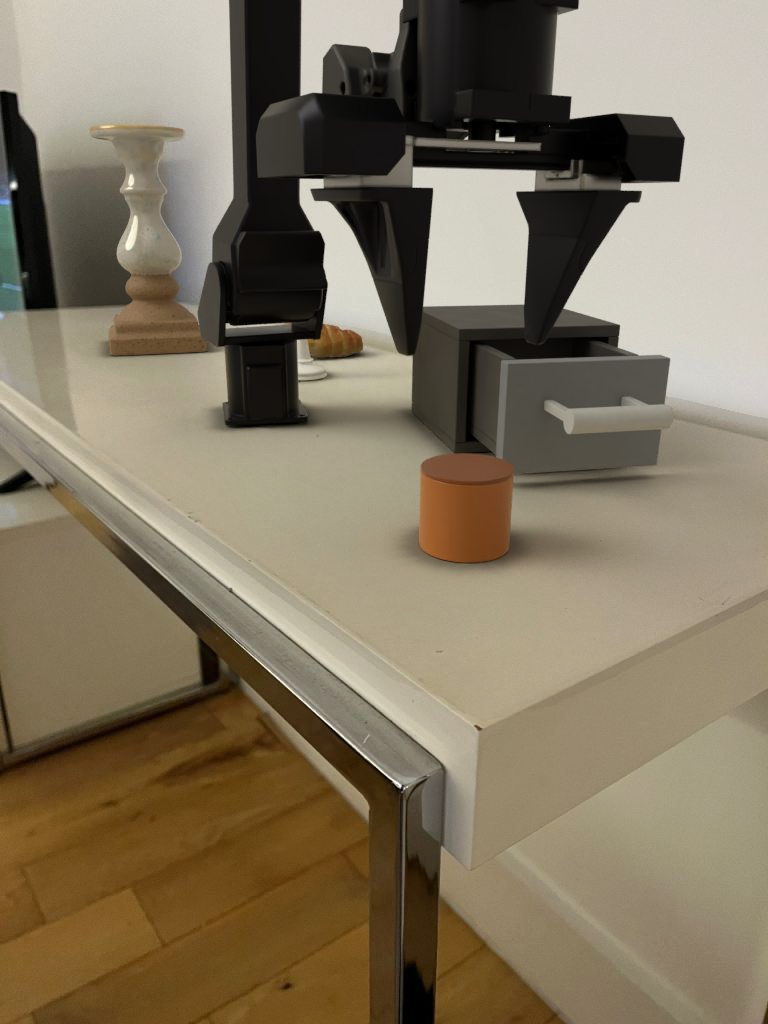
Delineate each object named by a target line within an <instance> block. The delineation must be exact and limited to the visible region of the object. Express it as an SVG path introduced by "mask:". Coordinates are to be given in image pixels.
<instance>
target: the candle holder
mask: <svg viewBox="0 0 768 1024" xmlns="http://www.w3.org/2000/svg"><path fill="white" fill-rule="evenodd" d="M89 134H90V136H91V138H92V139H93V138H94V139H97V140H103V141H110V142H111V143H112V145H113V147H114V151H115V153H116V154H117V156H118V157H119V158H120V160H121V161H122V164H123V165H124V169H125V176H124V180H123V183H122V184H121V186H120V188H119V193H120V194H121V195H123V197H124V201H125V202H126V203H127V206H128V208H129V210H130V211H129V212H130V213H129V214H130V215H129V219H128V221H127V222H128V223H127V225H126V227H125V229H124V231H123V233H122V235H121V237H120V239H119V241H118V244H117V247H116V259H117V261H118V264H119V265H120V266H121V267H122V268H123V270H125V271H126V272H128V273H130V277H129V279H127V281H126V283H125V293H126V294H127V295H128V296H129V297H130V298H131V299H132V301H131V302H130V303H128V304H127V305H126V306H125V307H124V308H123V309H121V311H120V312H119V313H118V314H115V315H114V316H113V324H112V325H110V326H109V328H108V344H109V345H108V346H109V354H110V356H136V355H137V356H140V355H141V356H143V355H162V354H163V355H164V354H183V353H186V354H187V353H200V352H201V353H202V352H203V353H204V352H208V349H209V348H208V342H207V341H205V340H203V339H202V338H201V333H200V327H199V321H198V318H197V317H196V315H195V314H194V313H193V312H191V311H189V309H188V308H186V307H185V306H184V305H183V304H181V303H179V302H178V301H176V300H175V297H176V296H177V295H178V294H179V292H180V284H179V283H178V281H177V280H176V279H175V278H174V277H173V275H172V273H173V272H174V271H176V270H177V269H178V267H179V266H180V264H181V263H182V258H183V256H182V255H183V253H182V249H181V246H180V245H179V243H178V241H177V239H176V238H175V236H174V235H173V233H172V232H171V230H170V229H169V227H168V225H167V224H166V223H165V221H164V217H163V216H162V212H161V208H162V204H163V202H164V197H165V195H167V194H168V189H167V187H165V185H164V184H163V182H162V180H161V178H160V175H159V163H160V160H161V159H162V157H163V156H164V154H165V150H166V149H165V148H166V144H167V143H170V142H171V143H172V142H180V141H183V140H185V138H186V130H185V129H183V128H180V127H175V126H166V125H153V124H152V125H150V124H101V125H93V126H90V127H89Z"/></svg>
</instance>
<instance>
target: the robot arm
mask: <svg viewBox="0 0 768 1024" xmlns="http://www.w3.org/2000/svg"><path fill="white" fill-rule="evenodd" d="M302 1H303V0H228V14H229V55H230V56H229V57H230V58H229V59H230V60H229V61H230V97H231V98H230V99H231V100H230V101H231V144H232V146H231V147H232V148H231V149H232V183H233V185H232V186H233V187H232V189H233V191H232V194H233V197H232V200H231V202H230V203H229V205H228V207H227V209H226V211H225V212H224V214H223V216H222V218H221V219H220V221H219V223H218V225H217V226H216V228H215V229H214V232H213V234H212V239H211V241H212V242H211V243H212V246H211V247H212V248H211V262H209V263H208V265H207V267H206V272H205V277H204V281H203V285H202V290H201V293H200V297H199V304H198V306H197V307H198V309H197V321H198V325H199V327H200V333H201V338H202V339H203V340H205V341H207V343H209V344H211V345H213V346H215V347H216V348H224V359H225V361H224V362H225V376H226V393H227V401H224V402H222V413H223V421H224V425H225V426H248V425H249V426H250V425H270V424H291V423H305V422H308V421H309V414H308V413H307V411H306V409H305V406H304V405H303V403H302V401H301V400H300V394H299V381H298V358H297V340H305V339H312V340H320V338H321V330H322V328H323V324H324V319H325V311H326V303H327V296H328V288H329V283H328V279H327V275H326V270H325V267H324V264H325V263H324V262H325V251H326V250H325V249H326V242H325V239H324V237H323V234H322V233H321V231H320V230H315V229H314V227H313V225H312V223H311V221H310V220H309V218H308V216H307V214H306V213H305V211H304V209H303V207H302V204H301V198H300V197H301V196H300V194H301V193H300V191H301V189H300V188H301V186H300V185H301V183H300V182H301V180H323V187H321V188H310V189H309V190H310V194H311V196H312V199H313V201H314V202H327V203H329V204H331V205H332V206H333V207H334V208H335V210H336V211H337V212H338V214H339V215H340V217H341V218H342V219H343V220H344V221H345V223H346V224H347V225H348V227H349V228H350V230H351V231H352V233H353V235H354V237H355V239H356V241H357V243H358V246H359V248H360V250H361V253H362V255H363V257H364V259H365V262H366V264H367V267H368V270H369V273H370V275H371V278H372V281H373V284H374V287H375V290H376V293H377V296H378V299H379V302H380V305H381V308H382V311H383V313H384V317H385V320H386V323H387V326H388V329H389V331H390V335H391V338H392V341H393V344H394V346H395V349H396V351H397V353H398V354H400V355H403V356H405V357H413V355H414V354H415V353H416V349H417V344H418V339H419V334H420V330H421V324H422V314H423V307H424V302H425V292H426V291H425V290H426V279H427V268H428V267H427V266H428V255H429V246H430V245H429V244H430V233H431V222H432V212H433V210H432V209H433V199H434V187H414V186H413V185H414V184H413V181H414V180H413V179H414V169H447V170H449V169H452V170H485V171H486V170H488V171H490V170H492V171H495V170H496V171H521V172H522V171H524V172H525V171H527V172H528V171H529V172H530V171H531V172H535V175H534V176H535V177H534V190H527V191H526V190H522V191H519V190H517V191H515V195H516V198H517V200H518V203H519V206H520V208H521V211H522V213H523V216H524V219H525V221H526V224H527V228H528V234H527V236H528V237H527V251H526V252H527V253H526V269H525V283H524V284H525V285H524V301H523V305H524V326H525V339H526V341H527V342H528V343H532V344H536V345H538V344H543V343H544V342H545V341H546V339H547V337H548V335H549V334H550V332H551V330H552V328H553V326H554V325H555V323H556V321H557V319H558V317H559V315H560V314H561V312H562V310H563V308H564V309H565V306H566V304H567V303H568V301H569V299H570V298H571V296H572V294H573V292H574V290H575V289H576V286H577V285H578V283H579V281H580V280H581V277H582V276H583V275H584V272H585V270H586V268H587V267H588V265H589V264H590V262H591V260H592V258H593V257H594V255H595V254H596V252H597V251H598V249H599V248H600V246H601V245H602V243H603V241H604V240H605V239H606V237H607V236H608V234H609V232H610V231H611V230H612V228H613V227H614V225H615V223H616V222H617V221H618V219H619V217H620V216H621V215H622V213H623V211H624V210H625V208H626V207H627V206H628V205H629V204H638V203H640V202H641V199H642V194H643V191H642V190H622V184H623V185H624V184H625V185H626V184H661V183H662V184H664V183H680V182H681V173H682V167H683V166H682V165H683V158H684V157H683V156H684V149H685V142H686V141H685V140H686V137H685V135H684V134H683V132H682V130H681V129H680V127H679V125H678V124H677V122H676V121H675V119H674V117H673V116H663V115H649V114H634V113H620V112H619V113H618V112H615V113H605V114H599V115H590V116H584V117H576V118H575V117H573V118H571V111H572V99H573V98H572V96H569V95H560V94H559V95H558V94H553V85H554V73H555V72H554V71H555V70H554V69H555V57H556V56H555V55H556V41H557V27H558V16H560V15H563V14H566V13H570V12H574V11H576V10H579V8H580V7H579V5H580V0H402V8H401V9H400V12H399V17H398V18H399V21H398V23H399V24H398V25H399V27H398V36H397V39H396V43H395V46H394V50H393V51H392V52H389V53H388V52H378V51H372V49H371V48H369V47H368V46H363V45H362V46H361V45H351V44H342V43H341V44H340V43H334V44H331V46H330V48H329V49H328V50H327V51H326V53H325V55H324V56H323V58H322V77H321V78H322V79H321V81H322V83H321V92H309V93H306V94H303V95H302V94H301V89H302V88H301V86H302V75H301V74H302V4H303V3H302ZM497 134H498V138H499V139H514V141H508V140H507V141H505V140H504V141H503V140H497ZM466 138H467V139H466ZM291 322H292V324H289V325H284V323H291ZM227 324H229V326H233V327H227ZM272 324H274V325H272ZM275 324H276V325H275ZM257 325H259V326H257ZM260 325H261V326H260ZM238 326H239V327H238ZM240 326H242V327H240ZM244 326H245V327H244Z"/></svg>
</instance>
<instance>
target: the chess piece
mask: <svg viewBox="0 0 768 1024" xmlns="http://www.w3.org/2000/svg"><path fill="white" fill-rule="evenodd" d="M297 358H298V382H301V381H303V382H304V381H305V382H307V381H316V380H320V379H324V378H326V377H327V376H328V374H327V372H326V371H327V368H326V367H325V366H324V365H322V364H319V363H315V362H313V361H314V360H315V359H314V358H313V357H311V354H310V352H309V346H308V339H305V340H297Z"/></svg>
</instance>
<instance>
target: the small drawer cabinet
mask: <svg viewBox="0 0 768 1024" xmlns="http://www.w3.org/2000/svg"><path fill="white" fill-rule="evenodd" d="M620 331H621V325H620V324H618V323H615V322H612V321H608V320H605V319H601V318H597V317H595V316H591V315H588V314H584V313H581V312H578V311H575V310H574V311H573V310H570V309H567V308H565V307H564V308H563V310H562V312H561V314H560V315H559V317H558V319H557V321H556V323H555V325H554V326H553V328H552V330H551V332H550V334H549V335H548V337H547V339H548V338H583V337H589V338H592V339H595V340H598V341H600V342H603V343H606V344H609V345H612V346H615V347H618V348H619V341H620ZM514 339H525V326H524V304H485V305H483V304H481V305H477V304H476V305H441V306H440V305H431V306H430V305H429V306H423V314H422V324H421V330H420V334H419V339H418V344H417V349H416V353H415V354H414V355H413V356H412V372H411V373H412V374H411V382H412V383H411V412H412V413H413V414H414V415H415V416H416V417H417V418H418V419H419V420H420V422H421V423H423V424H424V425H425V426H426V427H427V428H428V429H429V430H430V431H431V432H432V433H433V434H434V435H435V436H436V437H437V438H438V439H439V440H440V441H441V442H442V443H444V445H445V446H447V447H448V448H449V449H450V451H451V452H453V454H456V453H468V454H473V453H488V452H491V451H490V450H489V449H488V448H487V447H486V446H485V445H483V444H482V443H481V442H480V441H479V440H478V439H476V438H475V437H474V436H473V435H472V434H470V433H469V432H468V431H467V430H466V421H467V397H468V373H469V349H470V341H479V340H514Z"/></svg>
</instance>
